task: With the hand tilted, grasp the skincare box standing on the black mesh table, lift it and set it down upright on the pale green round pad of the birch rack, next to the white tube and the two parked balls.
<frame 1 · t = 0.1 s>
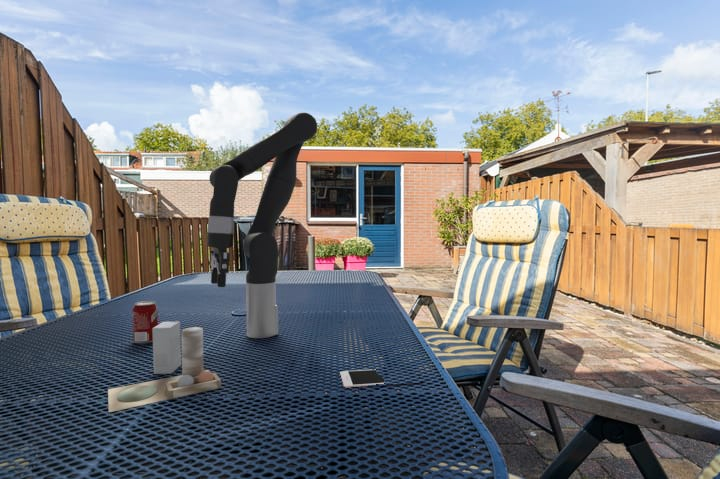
hand: (217, 285, 118), 17 cm above the table, tool pointing down, fingers open, 8 cm apart
ball b: (185, 390, 81), point 1 cm above the table, touching rack
rack: (164, 394, 82), on the table
soda can: (146, 342, 119), on the table
skincare box: (167, 374, 93), on the table
cell phone: (380, 380, 91), on the table
ball a: (205, 386, 83), point 1 cm above the table, touching rack
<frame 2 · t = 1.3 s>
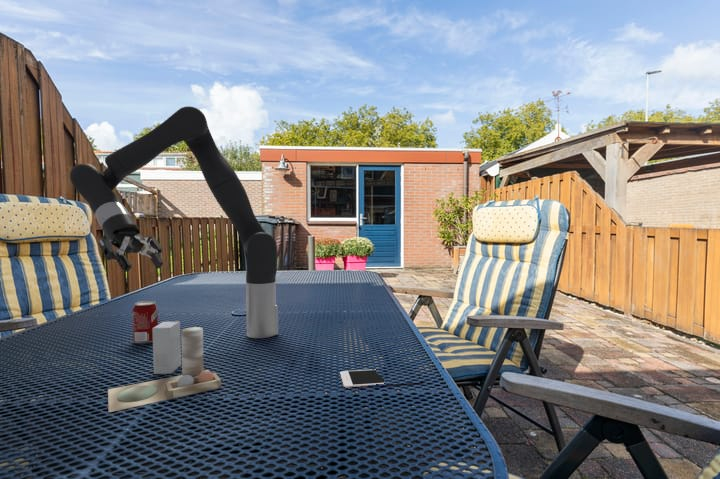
hand: (145, 268, 99), 25 cm above the table, tool tilted 45°, fingers open, 8 cm apart
nothing on the table moved.
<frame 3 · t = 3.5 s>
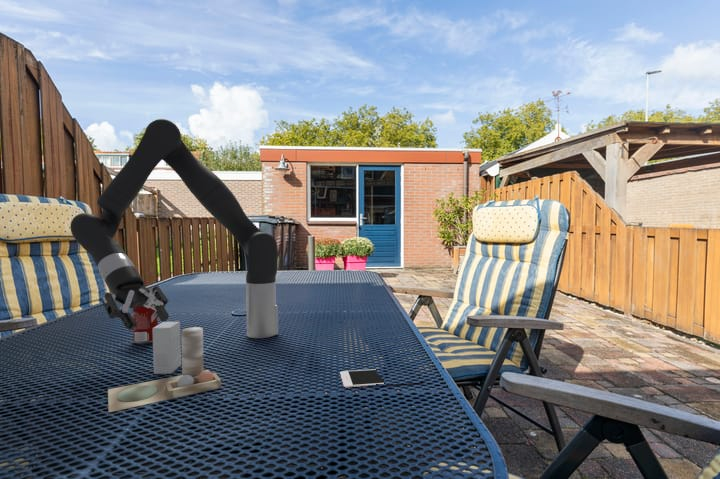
hand: (150, 323, 96), 11 cm above the table, tool tilted 45°, fingers open, 8 cm apart
nothing on the table moved.
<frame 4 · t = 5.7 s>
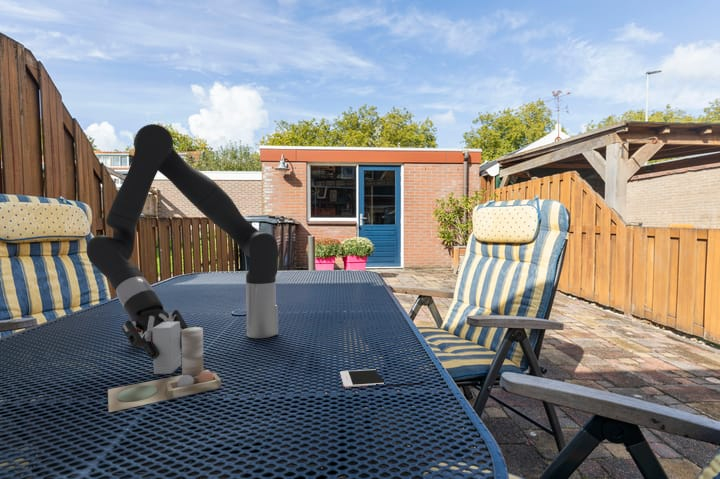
hand: (171, 351, 92), 6 cm above the table, tool tilted 45°, fingers closed on skincare box, 7 cm apart
skincare box: (167, 374, 93), on the table, touching gripper
everything else where it was.
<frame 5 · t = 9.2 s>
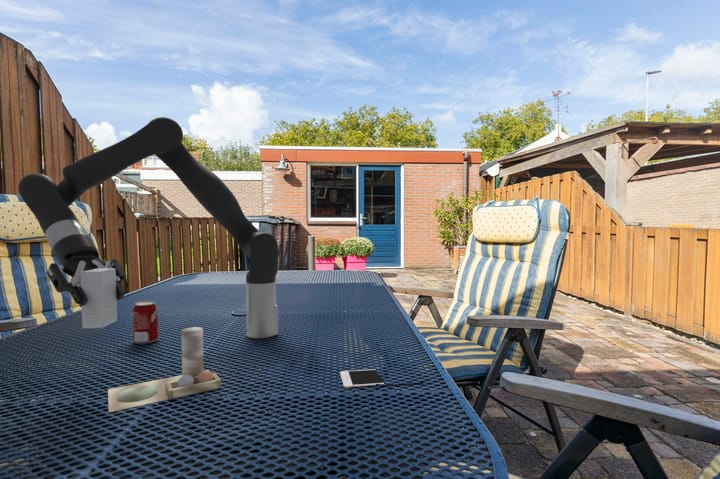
hand: (103, 300, 84), 19 cm above the table, tool tilted 45°, fingers closed on skincare box, 7 cm apart
skincare box: (100, 325, 85), point 14 cm above the table, touching gripper
everything else where it was.
when the fingers open (9 cm above the table, at t = 12.7 s): skincare box drops 2 cm, resting on rack.
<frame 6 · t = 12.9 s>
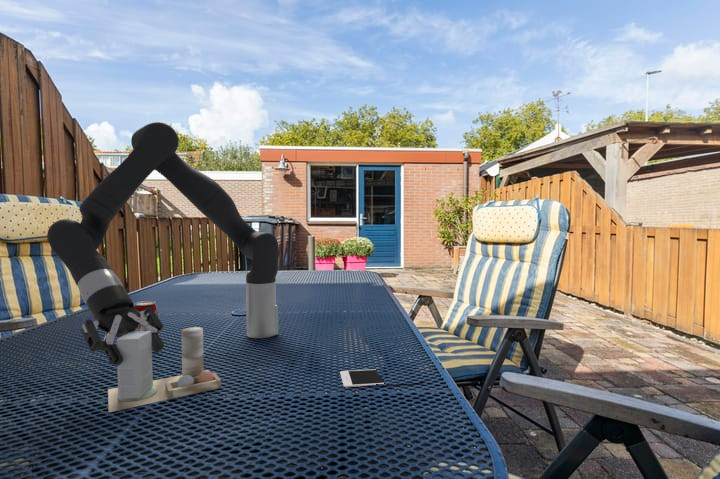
hand: (140, 356, 78), 9 cm above the table, tool tilted 45°, fingers open, 8 cm apart
skincare box: (135, 393, 79), point 1 cm above the table, touching rack
everything else where it was.
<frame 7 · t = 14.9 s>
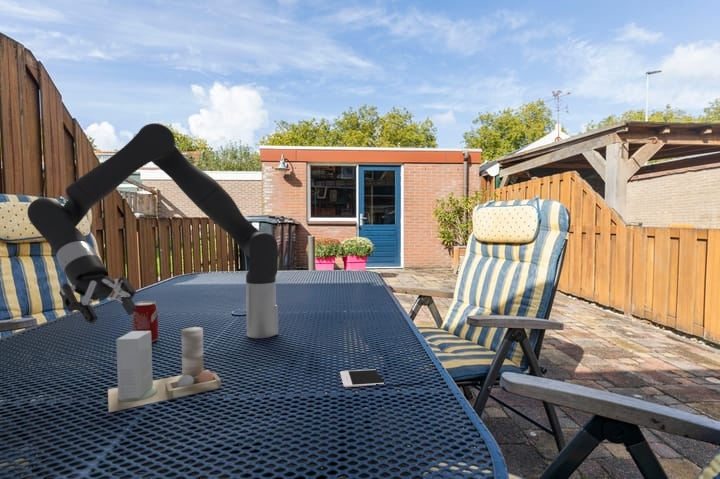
hand: (114, 316, 88), 15 cm above the table, tool tilted 45°, fingers open, 8 cm apart
nothing on the table moved.
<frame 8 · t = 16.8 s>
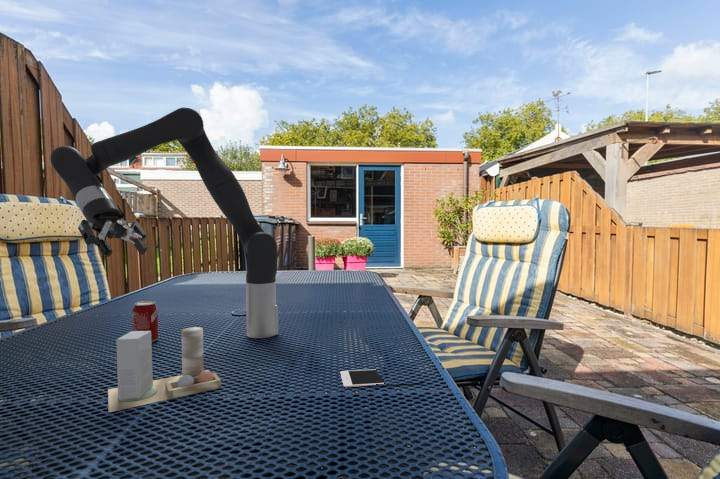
hand: (127, 253, 96), 29 cm above the table, tool tilted 45°, fingers open, 8 cm apart
nothing on the table moved.
at the end: skincare box 0.3 cm from the target spot on the rack, point 1.3 cm above the rack's base; skincare box tilted 0°; the gripper is holding nothing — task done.
